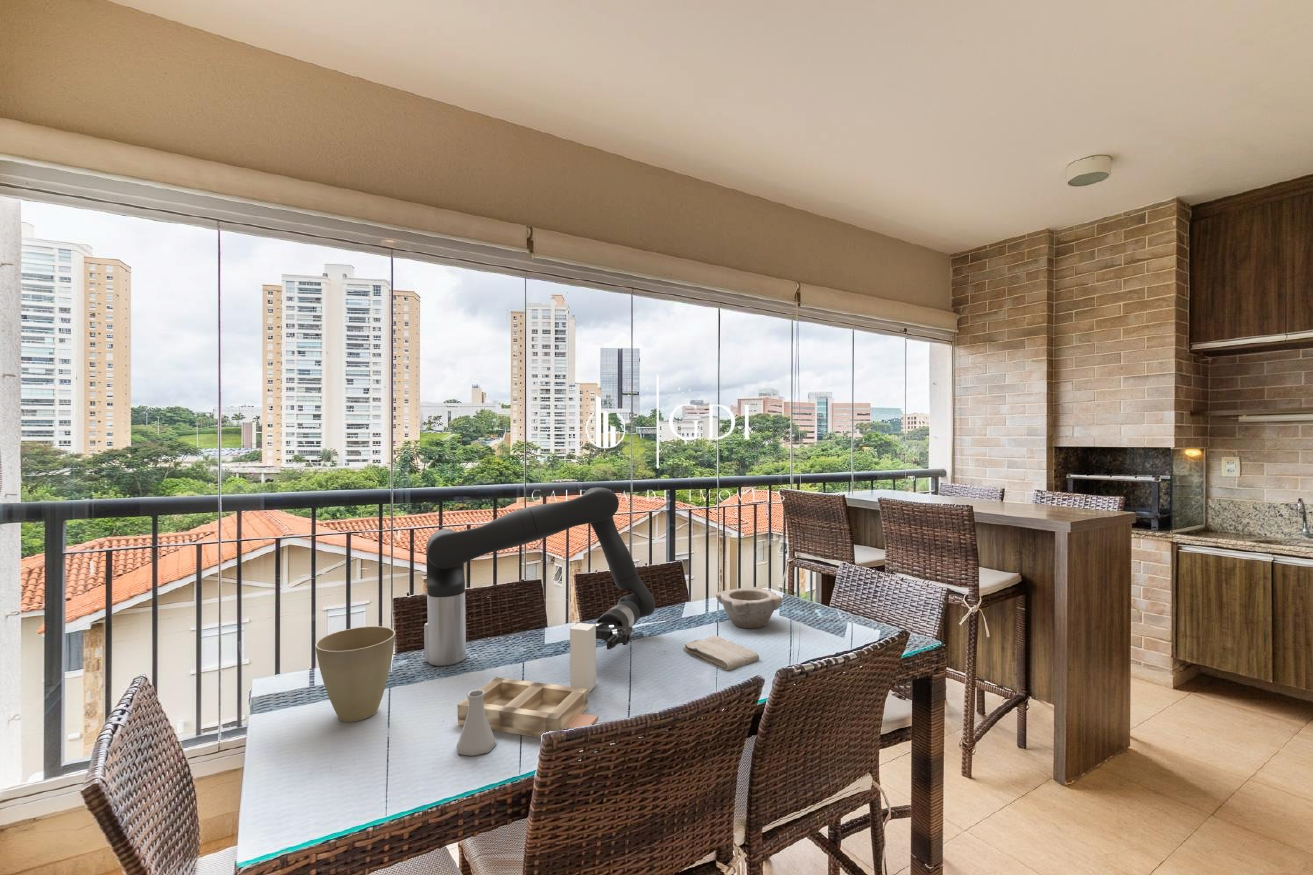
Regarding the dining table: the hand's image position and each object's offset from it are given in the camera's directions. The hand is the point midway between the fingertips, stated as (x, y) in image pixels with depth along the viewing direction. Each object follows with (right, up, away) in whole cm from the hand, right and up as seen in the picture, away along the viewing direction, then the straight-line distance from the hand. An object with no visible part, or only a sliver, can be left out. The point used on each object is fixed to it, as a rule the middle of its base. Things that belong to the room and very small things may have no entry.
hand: (591, 643), depth 141 cm
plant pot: (-47, -9, -16) cm, 51 cm away
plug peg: (-1, -8, -4) cm, 10 cm away
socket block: (-10, -9, -18) cm, 23 cm away
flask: (-18, -9, -30) cm, 36 cm away
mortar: (+43, -8, +40) cm, 60 cm away
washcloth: (+32, -9, +15) cm, 36 cm away
